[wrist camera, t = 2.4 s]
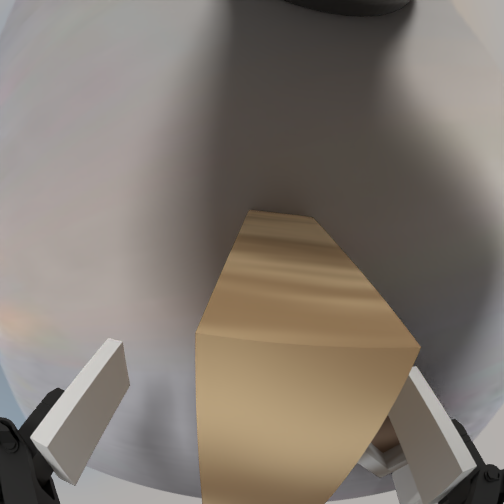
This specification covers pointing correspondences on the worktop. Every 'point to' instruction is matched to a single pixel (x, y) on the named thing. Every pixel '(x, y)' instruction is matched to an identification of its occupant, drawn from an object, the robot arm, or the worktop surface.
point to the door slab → (292, 366)
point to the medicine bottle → (408, 487)
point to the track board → (384, 452)
